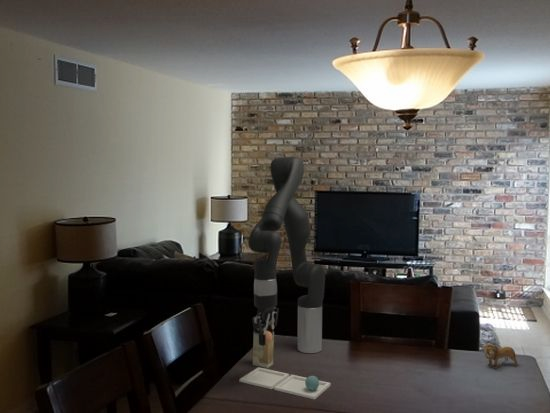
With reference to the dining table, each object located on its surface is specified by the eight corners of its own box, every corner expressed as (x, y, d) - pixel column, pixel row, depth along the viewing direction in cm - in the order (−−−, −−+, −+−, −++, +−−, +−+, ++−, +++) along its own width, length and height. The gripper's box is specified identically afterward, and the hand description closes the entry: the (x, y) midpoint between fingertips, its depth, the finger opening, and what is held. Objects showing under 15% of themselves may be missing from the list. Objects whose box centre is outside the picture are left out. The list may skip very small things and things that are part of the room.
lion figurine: (489, 371, 194) (491, 346, 193) (478, 366, 199) (479, 341, 198) (521, 365, 200) (522, 341, 199) (510, 360, 204) (511, 336, 204)
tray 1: (258, 370, 193) (258, 367, 193) (289, 377, 188) (289, 373, 188) (239, 382, 183) (239, 379, 183) (271, 390, 177) (271, 386, 177)
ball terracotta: (263, 340, 187) (263, 327, 187) (275, 342, 185) (275, 329, 185) (256, 344, 183) (256, 331, 183) (268, 347, 181) (268, 333, 181)
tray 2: (291, 378, 187) (291, 374, 187) (330, 386, 180) (330, 383, 180) (274, 391, 177) (274, 387, 177) (314, 400, 170) (314, 396, 170)
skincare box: (252, 365, 198) (252, 331, 197) (258, 361, 202) (258, 328, 201) (268, 369, 195) (268, 334, 194) (274, 365, 199) (274, 331, 198)
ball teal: (308, 385, 180) (309, 372, 179) (321, 388, 178) (321, 375, 177) (302, 390, 176) (302, 377, 176) (315, 393, 174) (315, 380, 173)
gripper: (266, 285, 190) (266, 334, 192) (244, 295, 178) (244, 347, 180) (285, 288, 187) (286, 338, 189) (264, 298, 174) (265, 351, 176)
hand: (266, 342), depth 184 cm, fingers closed on ball terracotta, 4 cm apart
